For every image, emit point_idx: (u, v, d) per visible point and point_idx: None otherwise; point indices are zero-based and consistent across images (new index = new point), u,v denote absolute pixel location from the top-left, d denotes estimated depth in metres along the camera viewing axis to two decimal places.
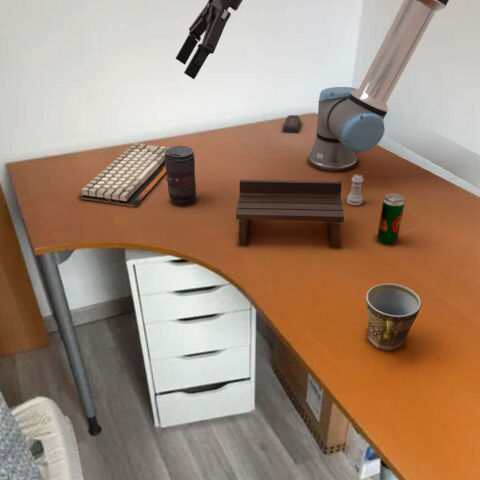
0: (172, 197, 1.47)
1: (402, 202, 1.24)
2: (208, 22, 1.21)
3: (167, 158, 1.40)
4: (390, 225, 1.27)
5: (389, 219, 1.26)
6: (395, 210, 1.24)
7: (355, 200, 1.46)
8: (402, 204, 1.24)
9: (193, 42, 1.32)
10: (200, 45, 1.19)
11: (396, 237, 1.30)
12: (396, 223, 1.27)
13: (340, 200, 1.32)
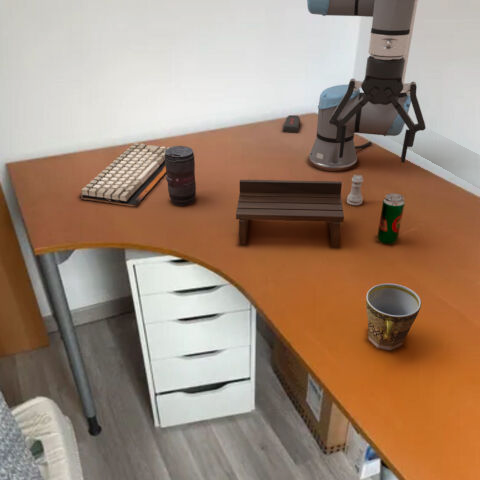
0: (172, 197, 1.47)
1: (402, 202, 1.24)
2: (397, 106, 1.10)
3: (167, 158, 1.40)
4: (390, 225, 1.27)
5: (389, 219, 1.26)
6: (395, 210, 1.24)
7: (355, 200, 1.46)
8: (402, 204, 1.24)
9: None
10: (416, 130, 1.11)
11: (396, 237, 1.30)
12: (396, 223, 1.27)
13: (340, 200, 1.32)
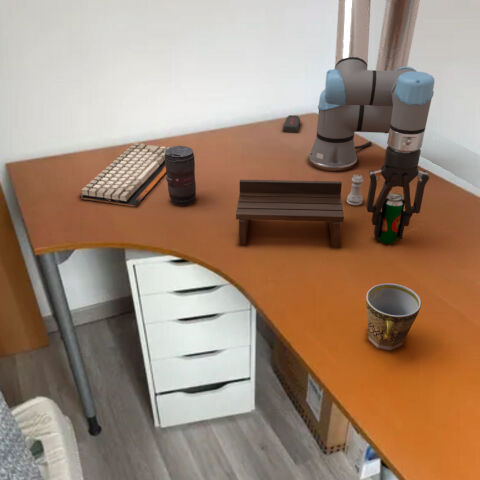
0: (172, 197, 1.47)
1: (402, 202, 1.24)
2: (407, 190, 1.22)
3: (167, 158, 1.40)
4: (390, 225, 1.27)
5: (389, 219, 1.26)
6: (395, 210, 1.24)
7: (355, 200, 1.46)
8: (402, 204, 1.24)
9: None
10: None
11: (396, 237, 1.30)
12: (396, 223, 1.27)
13: (340, 200, 1.32)
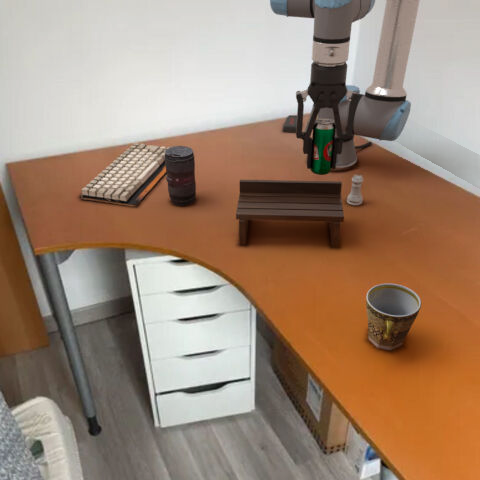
0: (172, 197, 1.47)
1: (332, 126, 1.16)
2: (336, 112, 1.14)
3: (167, 158, 1.40)
4: (321, 153, 1.19)
5: (320, 145, 1.18)
6: (325, 135, 1.16)
7: (355, 200, 1.46)
8: (332, 128, 1.16)
9: None
10: None
11: (329, 166, 1.22)
12: (327, 149, 1.19)
13: (340, 200, 1.32)
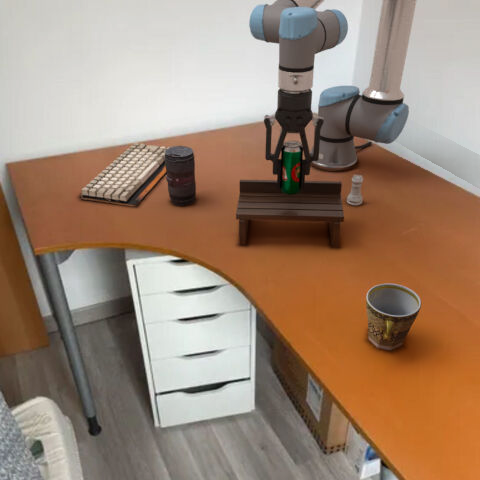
0: (172, 197, 1.47)
1: (299, 149, 1.21)
2: (302, 136, 1.19)
3: (167, 158, 1.40)
4: (289, 174, 1.24)
5: (288, 167, 1.23)
6: (292, 157, 1.21)
7: (355, 200, 1.46)
8: (299, 151, 1.21)
9: None
10: None
11: (298, 187, 1.26)
12: (295, 171, 1.23)
13: (340, 200, 1.32)
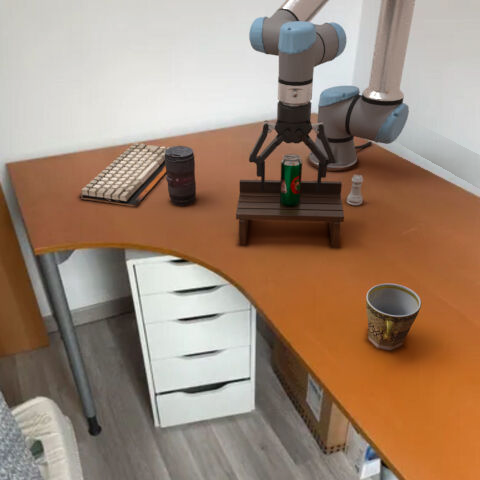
0: (172, 197, 1.47)
1: (299, 162, 1.23)
2: (308, 144, 1.20)
3: (167, 158, 1.40)
4: (289, 187, 1.26)
5: (287, 180, 1.25)
6: (292, 170, 1.23)
7: (355, 200, 1.46)
8: (299, 164, 1.23)
9: None
10: (327, 164, 1.22)
11: (297, 199, 1.28)
12: (294, 183, 1.25)
13: (340, 200, 1.32)
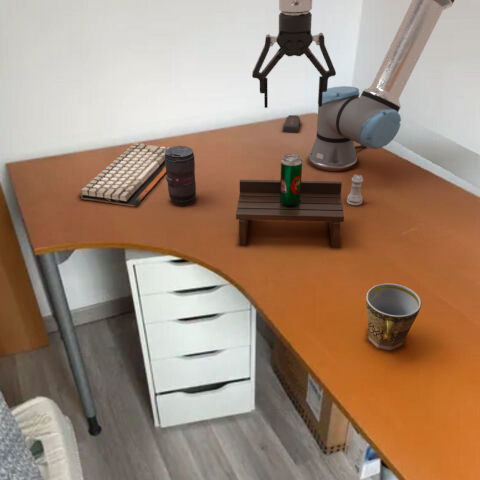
0: (172, 197, 1.47)
1: (299, 162, 1.23)
2: (310, 56, 1.24)
3: (167, 158, 1.40)
4: (289, 187, 1.26)
5: (287, 180, 1.25)
6: (292, 170, 1.23)
7: (355, 200, 1.46)
8: (299, 164, 1.23)
9: None
10: (328, 76, 1.27)
11: (297, 199, 1.28)
12: (294, 183, 1.25)
13: (340, 200, 1.32)
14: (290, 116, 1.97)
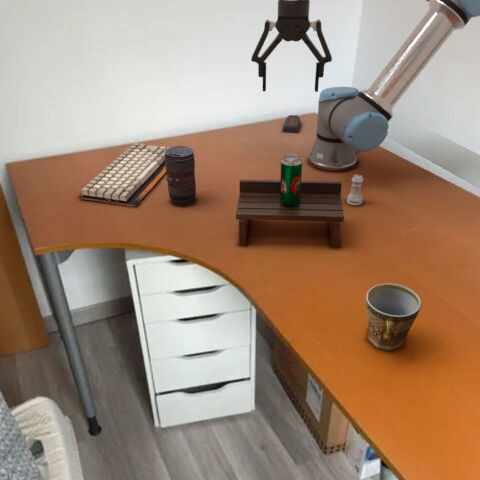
0: (172, 197, 1.47)
1: (298, 162, 1.23)
2: (307, 41, 1.29)
3: (167, 158, 1.40)
4: (289, 187, 1.26)
5: (287, 180, 1.25)
6: (292, 170, 1.23)
7: (355, 200, 1.46)
8: (299, 164, 1.23)
9: None
10: (324, 62, 1.31)
11: (297, 199, 1.28)
12: (294, 183, 1.25)
13: (340, 200, 1.32)
14: (290, 116, 1.97)
